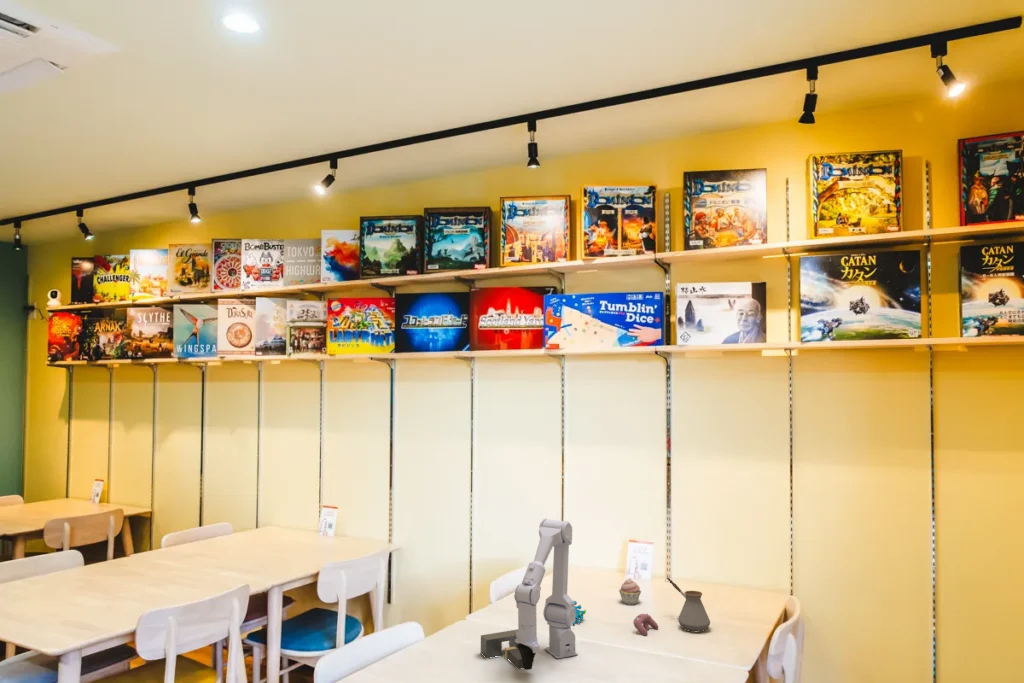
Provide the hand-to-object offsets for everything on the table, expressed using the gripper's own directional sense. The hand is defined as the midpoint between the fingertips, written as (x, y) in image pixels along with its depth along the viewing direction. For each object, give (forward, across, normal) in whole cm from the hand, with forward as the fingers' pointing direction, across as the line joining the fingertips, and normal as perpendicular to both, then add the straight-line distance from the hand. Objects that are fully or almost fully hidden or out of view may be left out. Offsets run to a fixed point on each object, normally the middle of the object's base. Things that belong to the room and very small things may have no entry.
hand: (527, 668), depth 212 cm
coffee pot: (+2, -19, +72) cm, 74 cm away
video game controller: (+2, -18, +54) cm, 57 cm away
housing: (+2, -19, 0) cm, 19 cm away
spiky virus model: (+2, -38, +34) cm, 51 cm away
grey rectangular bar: (+2, -10, 0) cm, 10 cm away
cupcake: (+2, -49, +67) cm, 83 cm away
